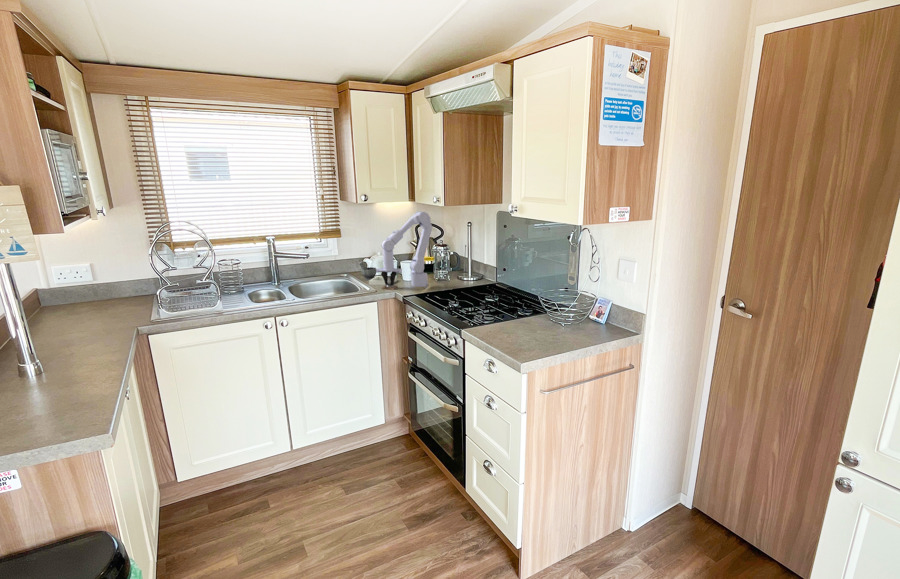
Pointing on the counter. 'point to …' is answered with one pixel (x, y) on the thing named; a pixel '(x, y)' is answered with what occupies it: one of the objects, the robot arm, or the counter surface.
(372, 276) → the mortar and pestle
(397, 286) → the stud block
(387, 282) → the strut
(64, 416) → the counter surface
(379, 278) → the bin
